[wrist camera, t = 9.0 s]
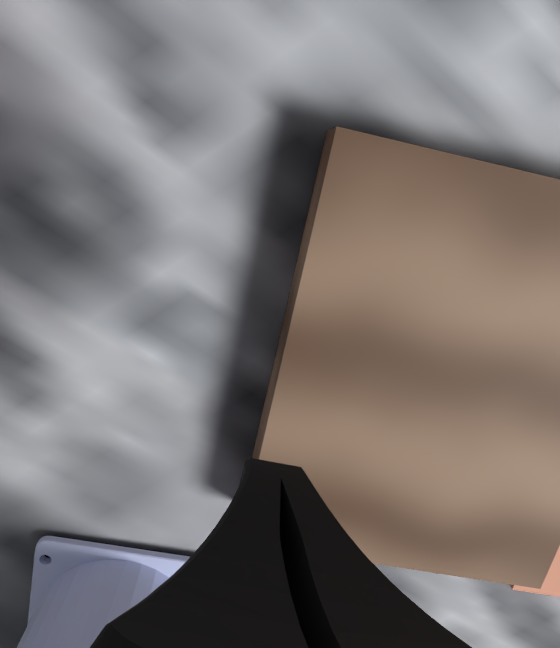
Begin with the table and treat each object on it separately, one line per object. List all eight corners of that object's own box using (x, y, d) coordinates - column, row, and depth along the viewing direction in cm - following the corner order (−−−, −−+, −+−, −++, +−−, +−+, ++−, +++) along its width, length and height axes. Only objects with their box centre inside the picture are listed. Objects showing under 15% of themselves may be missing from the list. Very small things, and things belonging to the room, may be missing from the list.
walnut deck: (512, 547, 24) (540, 588, 22) (241, 503, 23) (239, 542, 21) (653, 208, 20) (706, 214, 18) (326, 131, 19) (336, 126, 16)
